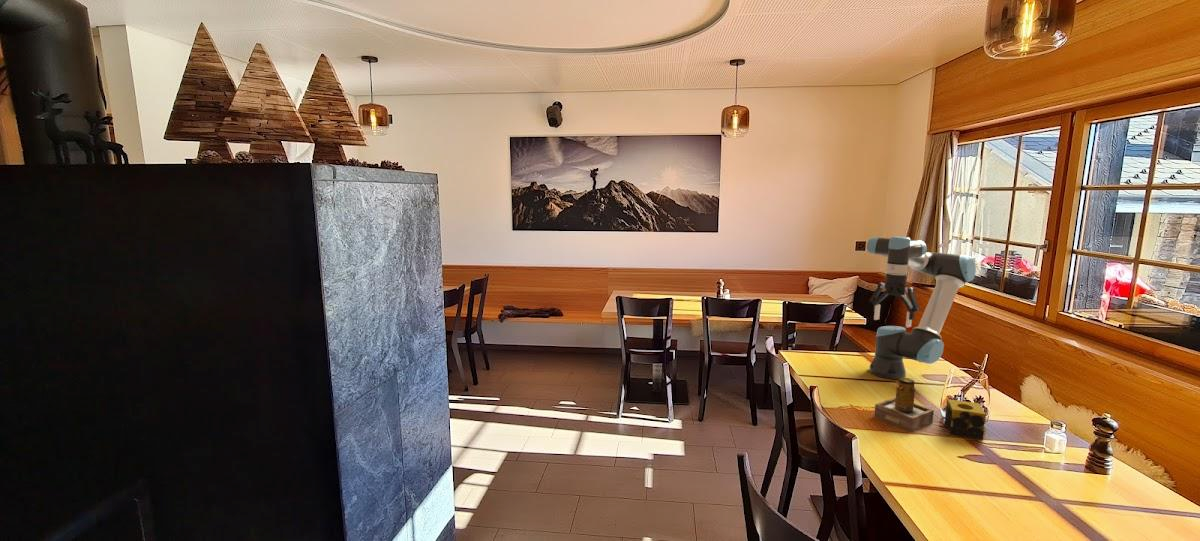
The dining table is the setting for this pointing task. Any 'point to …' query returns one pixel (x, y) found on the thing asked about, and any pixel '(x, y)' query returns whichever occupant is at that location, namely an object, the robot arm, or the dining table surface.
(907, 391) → the condiment
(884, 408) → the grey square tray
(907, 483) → the dining table surface
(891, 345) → the robot arm
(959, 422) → the yellow black cube
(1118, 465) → the dining table surface
